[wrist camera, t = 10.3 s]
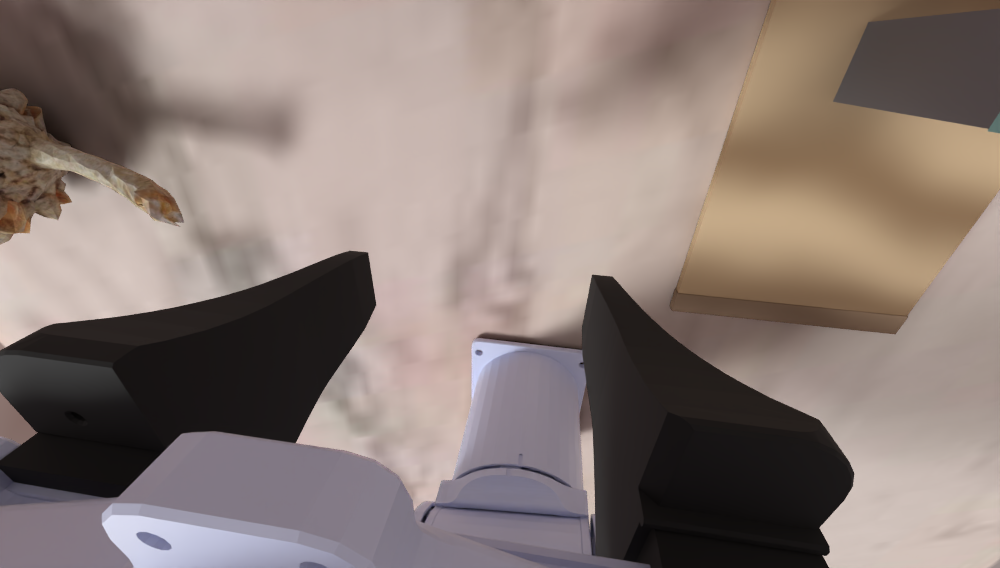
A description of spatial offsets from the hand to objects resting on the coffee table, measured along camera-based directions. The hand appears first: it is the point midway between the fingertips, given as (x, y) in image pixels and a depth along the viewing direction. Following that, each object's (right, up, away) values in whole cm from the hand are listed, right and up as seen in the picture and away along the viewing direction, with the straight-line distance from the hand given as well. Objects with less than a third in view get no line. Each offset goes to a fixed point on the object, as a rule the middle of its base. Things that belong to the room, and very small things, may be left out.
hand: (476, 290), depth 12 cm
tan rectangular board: (+17, +5, +6) cm, 19 cm away
